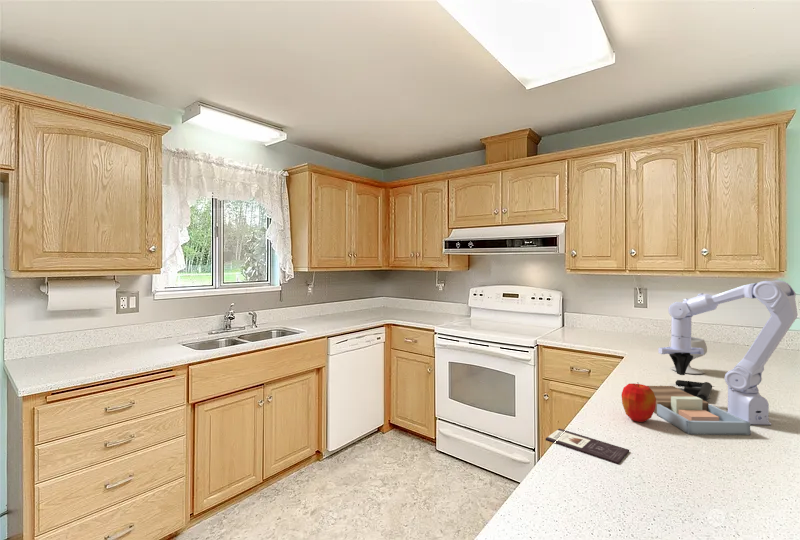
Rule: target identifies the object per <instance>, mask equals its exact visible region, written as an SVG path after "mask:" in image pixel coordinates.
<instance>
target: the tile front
mask: <svg viewBox="0 0 800 540" xmlns="http://www.w3.org/2000/svg"><path fill="white" fill-rule="evenodd" d="M679 415H680V416H682V417H684V418H686V419H688V420H689V421H719V417H718V416H716V415H714V414H712V413H710V412H708V411H706V410H679Z"/></svg>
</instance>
